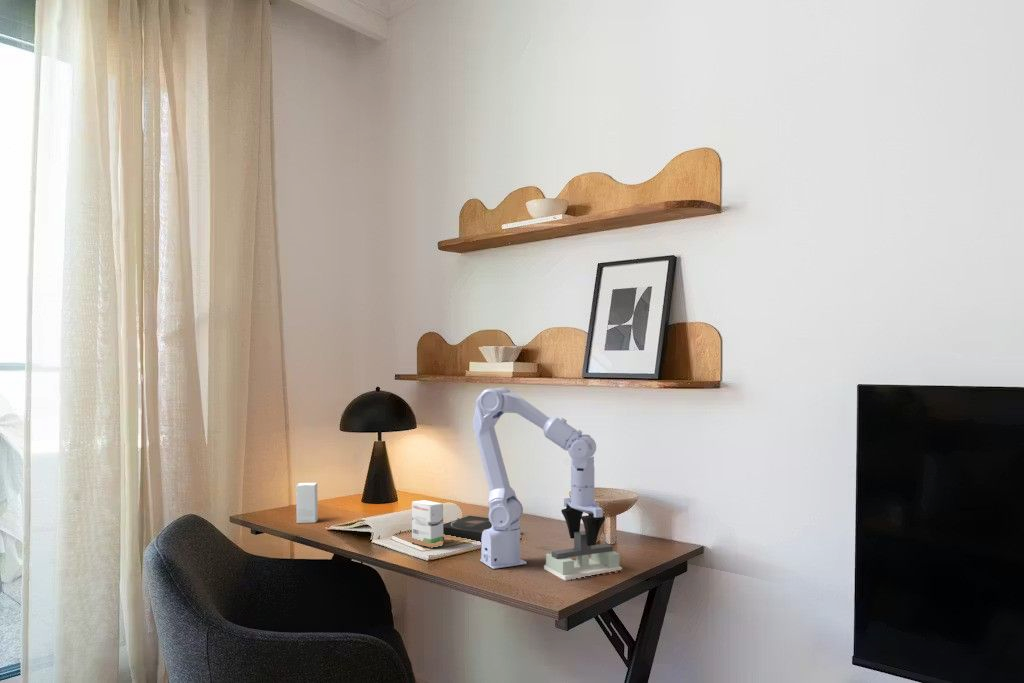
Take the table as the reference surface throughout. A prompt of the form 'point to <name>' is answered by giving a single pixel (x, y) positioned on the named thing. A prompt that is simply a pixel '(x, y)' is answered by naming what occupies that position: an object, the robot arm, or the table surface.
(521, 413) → the robot arm
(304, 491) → the skincare box
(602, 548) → the grey inverted t block
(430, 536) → the ink box
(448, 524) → the portable cd player
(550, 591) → the table surface
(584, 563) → the stand
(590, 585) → the table surface
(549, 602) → the table surface
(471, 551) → the table surface
